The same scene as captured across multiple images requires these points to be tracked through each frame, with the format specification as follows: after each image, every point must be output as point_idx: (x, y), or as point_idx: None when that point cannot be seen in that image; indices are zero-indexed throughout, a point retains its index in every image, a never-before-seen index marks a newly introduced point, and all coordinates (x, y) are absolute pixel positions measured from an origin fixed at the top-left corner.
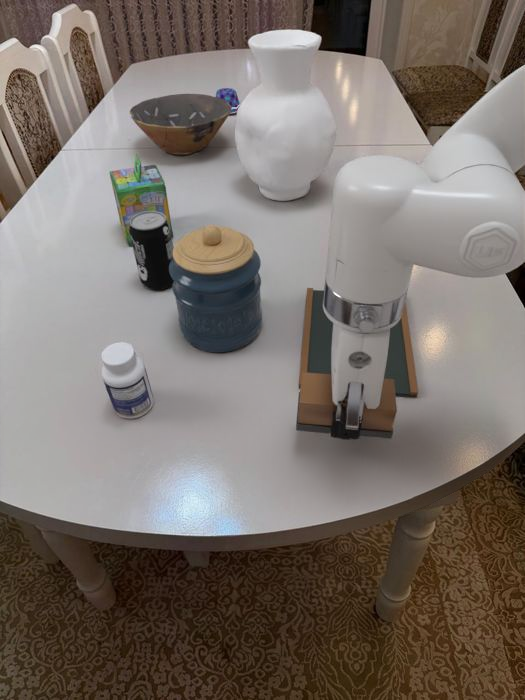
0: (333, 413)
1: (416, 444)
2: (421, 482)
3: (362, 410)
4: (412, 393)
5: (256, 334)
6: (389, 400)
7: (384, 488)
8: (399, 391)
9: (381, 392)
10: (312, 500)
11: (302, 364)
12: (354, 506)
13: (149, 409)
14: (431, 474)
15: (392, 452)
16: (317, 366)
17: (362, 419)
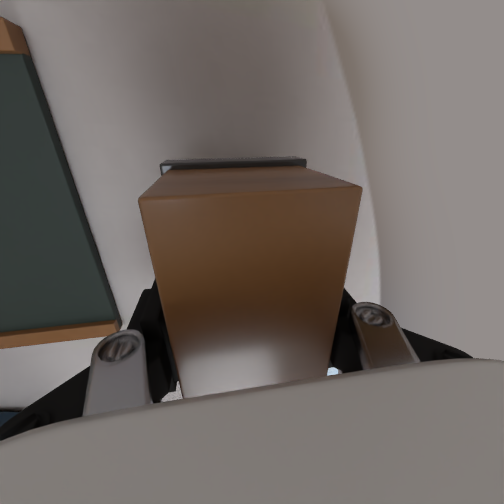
0: (328, 367)
1: (214, 58)
2: (323, 60)
3: (412, 352)
4: (15, 44)
5: (6, 416)
6: (300, 222)
7: (334, 154)
8: (27, 95)
9: (253, 260)
10: (349, 270)
11: (54, 339)
12: (364, 209)
13: None
14: (302, 25)
15: (247, 131)
16: (41, 310)
17: (345, 291)
